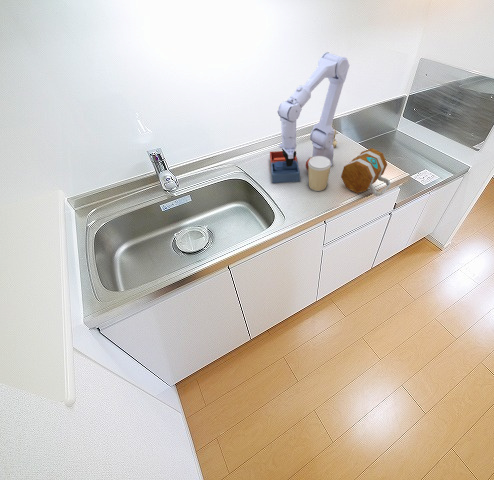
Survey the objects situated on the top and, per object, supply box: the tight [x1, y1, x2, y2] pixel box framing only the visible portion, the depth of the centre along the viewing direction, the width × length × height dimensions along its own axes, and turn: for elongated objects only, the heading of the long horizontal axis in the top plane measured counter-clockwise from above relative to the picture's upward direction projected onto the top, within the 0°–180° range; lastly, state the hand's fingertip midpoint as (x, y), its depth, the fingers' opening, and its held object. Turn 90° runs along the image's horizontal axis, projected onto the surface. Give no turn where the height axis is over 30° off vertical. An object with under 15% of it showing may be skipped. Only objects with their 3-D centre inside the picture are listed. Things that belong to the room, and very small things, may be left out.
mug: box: [340, 147, 392, 197], centre depth 116 cm, size 20×14×15 cm
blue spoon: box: [274, 160, 296, 171], centre depth 118 cm, size 9×4×3 cm, turn 96°
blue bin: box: [270, 160, 301, 184], centre depth 123 cm, size 9×12×4 cm
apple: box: [305, 156, 312, 173], centre depth 124 cm, size 8×8×8 cm
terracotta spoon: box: [274, 158, 286, 162], centre depth 130 cm, size 9×4×3 cm, turn 95°
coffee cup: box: [308, 156, 332, 192], centre depth 116 cm, size 9×9×12 cm
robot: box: [331, 123, 339, 149], centre depth 138 cm, size 10×8×15 cm
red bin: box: [269, 150, 298, 164], centre depth 130 cm, size 9×12×4 cm
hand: (289, 164), depth 118 cm, fingers closed on blue spoon
